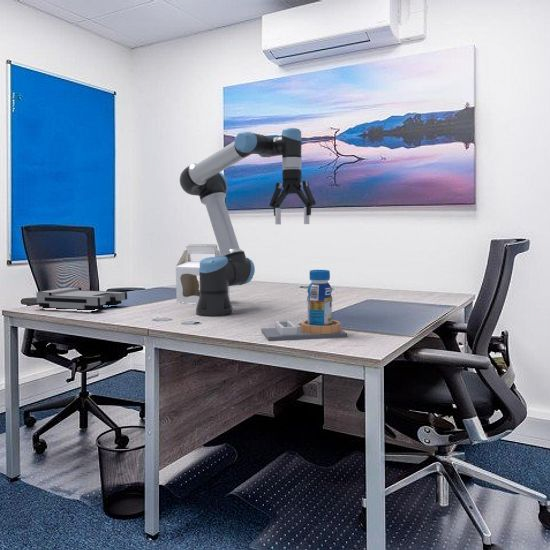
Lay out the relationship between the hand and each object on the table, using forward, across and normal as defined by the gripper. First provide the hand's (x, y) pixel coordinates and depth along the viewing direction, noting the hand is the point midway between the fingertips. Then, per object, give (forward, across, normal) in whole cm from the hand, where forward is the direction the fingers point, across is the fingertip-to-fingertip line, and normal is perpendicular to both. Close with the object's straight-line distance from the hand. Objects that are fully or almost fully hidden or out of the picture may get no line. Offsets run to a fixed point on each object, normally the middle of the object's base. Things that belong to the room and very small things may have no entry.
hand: (292, 224), depth 200 cm
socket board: (+37, -22, +26) cm, 50 cm away
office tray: (+37, +90, +35) cm, 103 cm away
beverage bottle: (+36, -26, +22) cm, 49 cm away
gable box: (+37, +58, -9) cm, 69 cm away
